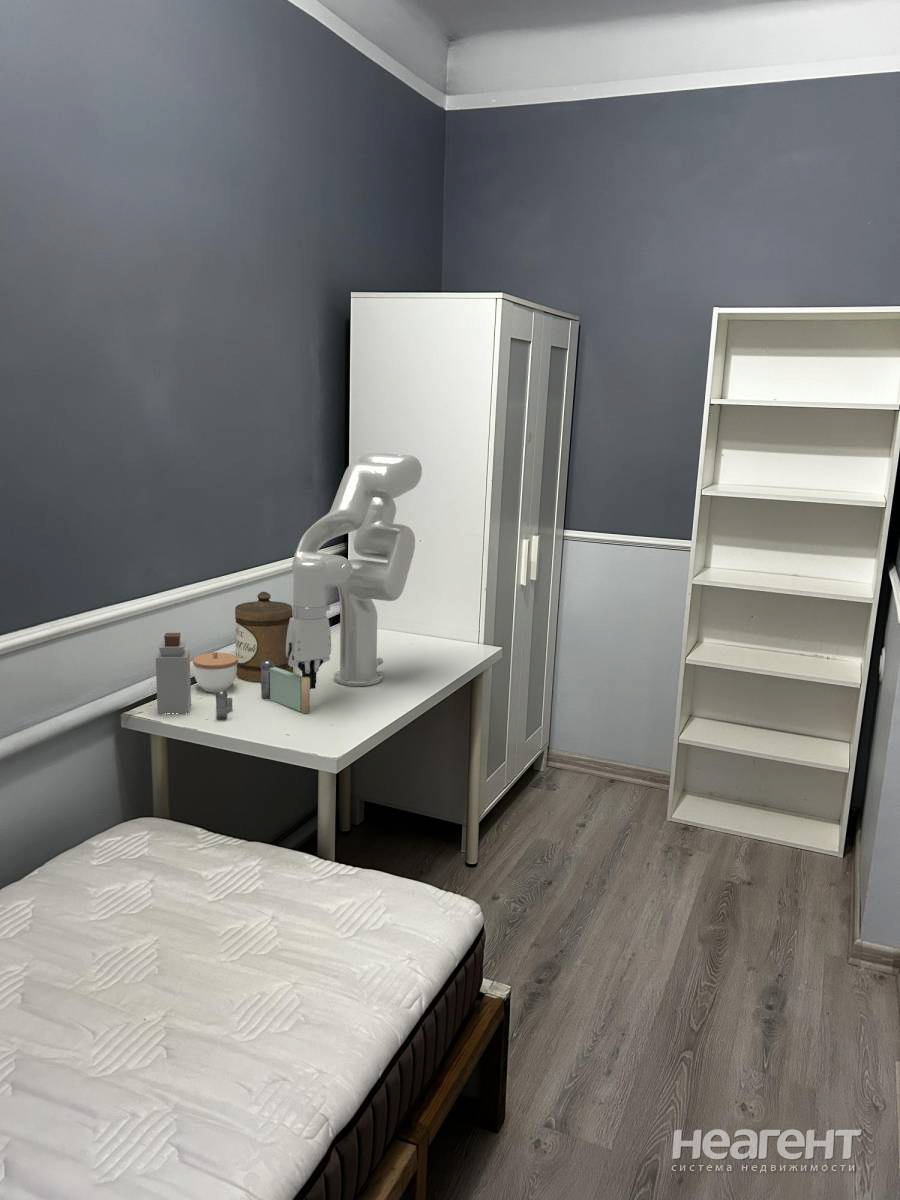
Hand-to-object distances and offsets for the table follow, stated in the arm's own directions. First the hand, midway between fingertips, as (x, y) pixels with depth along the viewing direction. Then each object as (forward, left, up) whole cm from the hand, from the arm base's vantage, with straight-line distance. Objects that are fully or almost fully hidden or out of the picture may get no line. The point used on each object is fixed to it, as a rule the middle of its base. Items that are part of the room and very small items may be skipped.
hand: (309, 687), depth 221 cm
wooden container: (-15, -24, -5) cm, 29 cm away
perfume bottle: (+18, -25, -5) cm, 31 cm away
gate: (+2, -4, -5) cm, 6 cm away
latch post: (+15, -13, -5) cm, 20 cm away
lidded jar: (+1, -27, -5) cm, 28 cm away
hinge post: (0, -12, -5) cm, 13 cm away
